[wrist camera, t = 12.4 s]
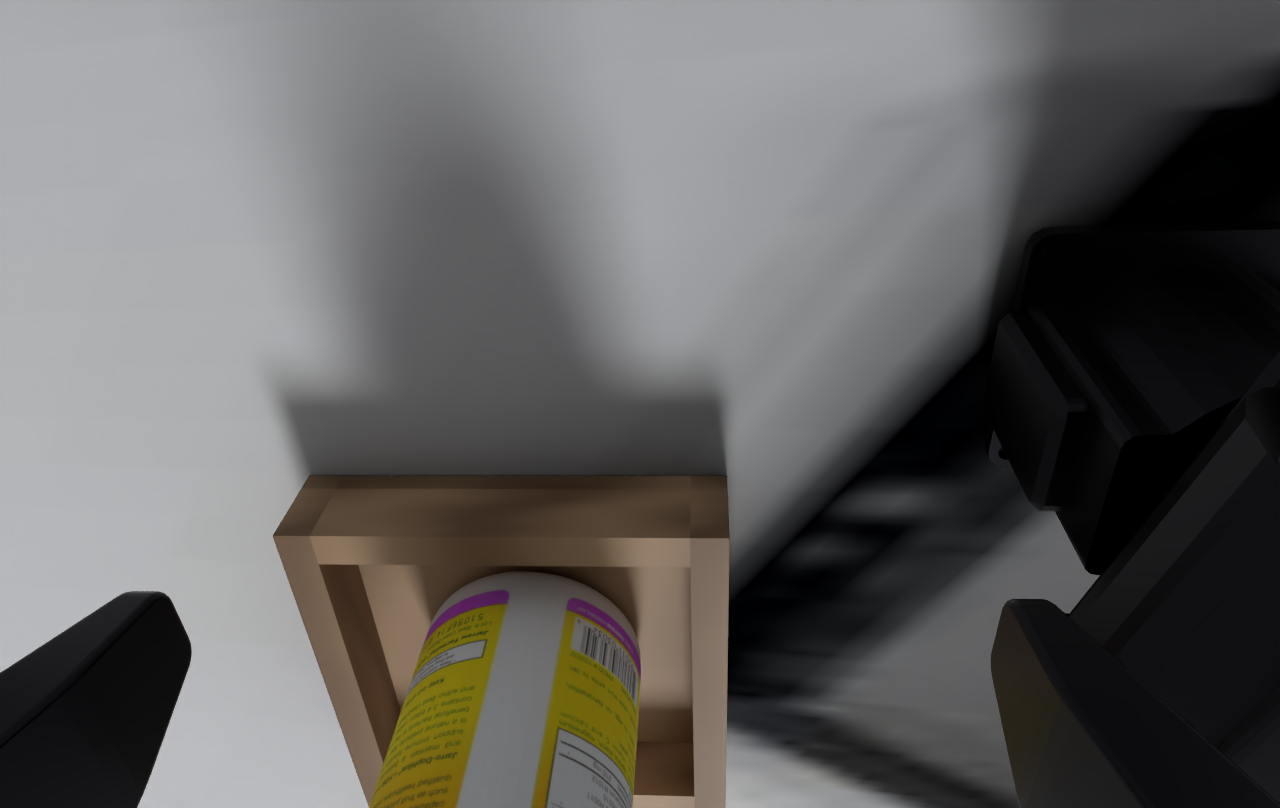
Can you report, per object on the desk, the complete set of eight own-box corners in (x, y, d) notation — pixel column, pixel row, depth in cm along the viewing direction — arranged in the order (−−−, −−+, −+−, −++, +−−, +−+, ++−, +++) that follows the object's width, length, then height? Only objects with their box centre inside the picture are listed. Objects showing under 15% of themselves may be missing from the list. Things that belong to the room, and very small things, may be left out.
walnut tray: (726, 475, 25) (729, 538, 22) (723, 746, 31) (725, 815, 29) (309, 475, 25) (272, 535, 23) (390, 739, 32) (368, 805, 30)
